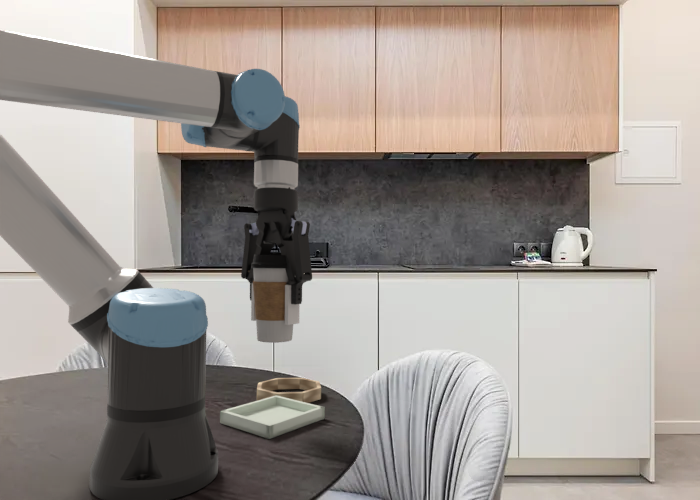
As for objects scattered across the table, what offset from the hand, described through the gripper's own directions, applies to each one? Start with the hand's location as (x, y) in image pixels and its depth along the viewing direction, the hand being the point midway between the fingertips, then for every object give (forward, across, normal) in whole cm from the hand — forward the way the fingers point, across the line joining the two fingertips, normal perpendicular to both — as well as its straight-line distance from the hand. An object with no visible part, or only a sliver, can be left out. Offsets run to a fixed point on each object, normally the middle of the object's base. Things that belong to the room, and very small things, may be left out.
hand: (274, 321), depth 88 cm
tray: (+17, 0, 0) cm, 17 cm away
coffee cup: (+3, 0, 0) cm, 3 cm away
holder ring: (+17, +9, -13) cm, 23 cm away
